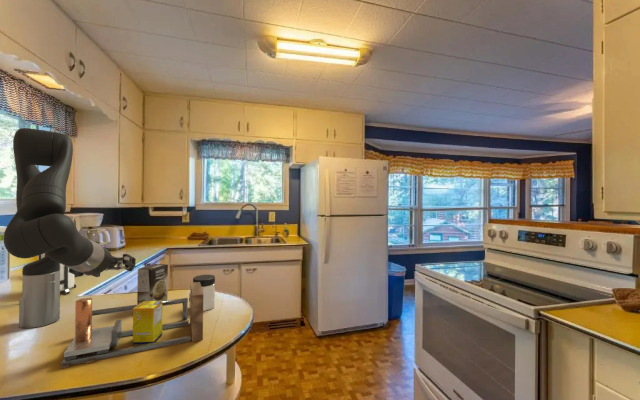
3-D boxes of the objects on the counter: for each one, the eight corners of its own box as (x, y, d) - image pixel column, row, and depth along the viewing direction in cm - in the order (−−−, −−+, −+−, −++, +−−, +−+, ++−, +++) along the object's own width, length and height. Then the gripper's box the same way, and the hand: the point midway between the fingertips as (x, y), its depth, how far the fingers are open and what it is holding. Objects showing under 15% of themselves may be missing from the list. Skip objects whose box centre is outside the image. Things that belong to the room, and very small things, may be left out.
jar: (214, 310, 109) (215, 279, 109) (191, 313, 107) (192, 281, 106) (214, 302, 118) (215, 273, 118) (193, 304, 115) (193, 275, 115)
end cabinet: (189, 342, 85) (190, 296, 85) (187, 323, 98) (188, 283, 98) (202, 339, 87) (203, 294, 87) (199, 321, 99) (199, 281, 99)
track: (59, 369, 71) (59, 364, 71) (78, 341, 85) (78, 337, 85) (190, 342, 85) (190, 338, 85) (188, 322, 98) (188, 319, 98)
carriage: (63, 360, 72) (64, 310, 72) (79, 337, 84) (79, 294, 84) (114, 350, 77) (115, 303, 77) (122, 330, 89) (123, 289, 89)
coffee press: (22, 296, 121) (22, 226, 121) (66, 285, 136) (67, 223, 136) (44, 302, 115) (45, 228, 114) (89, 290, 130) (89, 225, 129)
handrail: (81, 337, 87) (81, 312, 87) (83, 335, 89) (83, 311, 88) (187, 319, 101) (187, 298, 101) (187, 318, 102) (187, 297, 102)
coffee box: (150, 312, 107) (151, 269, 107) (136, 310, 108) (136, 268, 108) (168, 303, 116) (168, 264, 116) (154, 301, 117) (155, 263, 117)
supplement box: (142, 335, 89) (143, 300, 89) (162, 334, 90) (163, 300, 90) (132, 345, 83) (132, 308, 83) (153, 344, 84) (153, 307, 84)
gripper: (119, 238, 75) (142, 254, 89) (54, 247, 71) (88, 263, 85) (118, 266, 72) (141, 278, 86) (50, 277, 68) (86, 288, 82)
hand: (115, 270), depth 85 cm, fingers open, 8 cm apart
